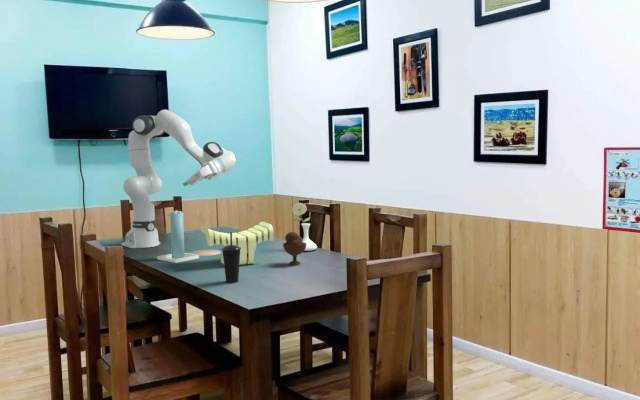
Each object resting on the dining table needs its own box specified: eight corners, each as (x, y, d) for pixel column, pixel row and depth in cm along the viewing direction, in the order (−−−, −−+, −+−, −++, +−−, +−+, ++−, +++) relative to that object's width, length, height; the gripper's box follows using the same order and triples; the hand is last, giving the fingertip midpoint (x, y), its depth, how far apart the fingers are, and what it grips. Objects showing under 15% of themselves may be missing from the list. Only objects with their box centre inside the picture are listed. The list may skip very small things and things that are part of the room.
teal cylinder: (169, 258, 278) (167, 210, 275) (179, 257, 282) (177, 209, 280) (176, 260, 274) (175, 211, 272) (187, 258, 278) (185, 210, 276)
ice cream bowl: (304, 266, 259) (303, 233, 257) (279, 266, 261) (279, 233, 260) (309, 262, 269) (308, 230, 268) (286, 261, 271) (285, 229, 270)
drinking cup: (223, 279, 235) (222, 231, 233) (242, 279, 236) (241, 230, 234) (221, 284, 228) (220, 233, 226) (241, 283, 228) (240, 233, 226)
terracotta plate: (182, 254, 292) (182, 252, 292) (207, 250, 304) (207, 248, 304) (202, 258, 282) (202, 256, 282) (227, 253, 294) (227, 251, 294)
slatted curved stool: (210, 269, 255) (209, 229, 254) (201, 263, 270) (200, 225, 268) (274, 263, 268) (273, 225, 266) (262, 257, 282) (262, 221, 281)
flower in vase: (318, 248, 306) (317, 201, 304) (315, 252, 295) (315, 203, 292) (293, 248, 307) (293, 201, 305) (290, 252, 296) (289, 203, 294)
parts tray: (157, 260, 277) (157, 256, 277) (181, 256, 288) (181, 252, 288) (175, 264, 268) (175, 259, 268) (199, 259, 279) (199, 255, 279)
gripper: (200, 170, 305) (177, 181, 298) (211, 160, 287) (188, 172, 280) (206, 180, 305) (183, 192, 298) (218, 171, 287) (194, 184, 281)
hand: (185, 182), depth 289 cm, fingers open, 8 cm apart
